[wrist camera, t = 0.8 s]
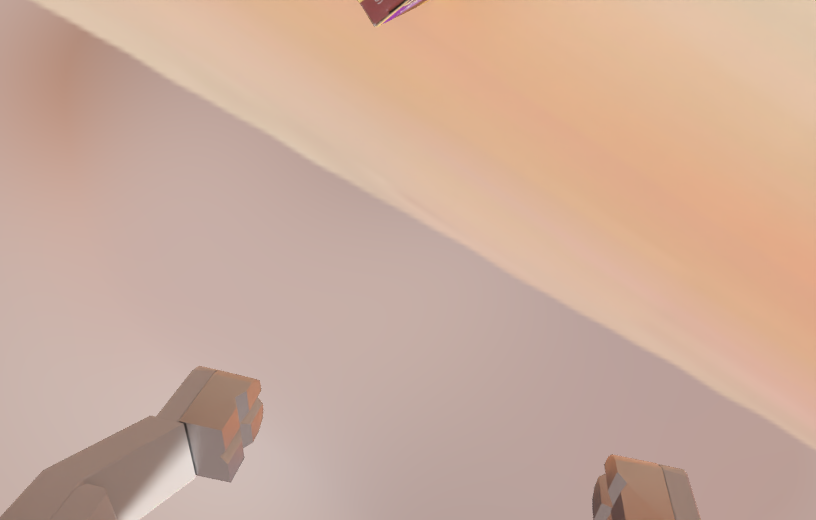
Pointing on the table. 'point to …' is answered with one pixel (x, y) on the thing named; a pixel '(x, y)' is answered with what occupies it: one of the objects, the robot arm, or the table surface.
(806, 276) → the table surface
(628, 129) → the table surface
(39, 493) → the robot arm
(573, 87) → the table surface
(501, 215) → the table surface
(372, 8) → the candy box
